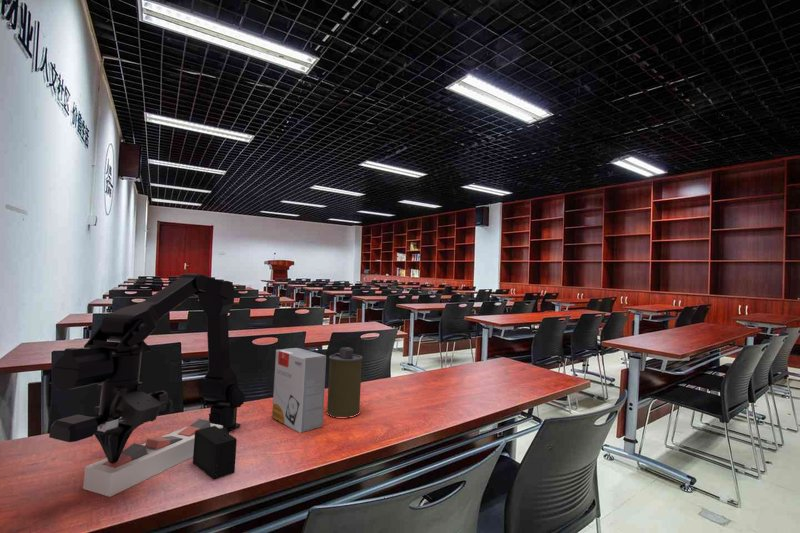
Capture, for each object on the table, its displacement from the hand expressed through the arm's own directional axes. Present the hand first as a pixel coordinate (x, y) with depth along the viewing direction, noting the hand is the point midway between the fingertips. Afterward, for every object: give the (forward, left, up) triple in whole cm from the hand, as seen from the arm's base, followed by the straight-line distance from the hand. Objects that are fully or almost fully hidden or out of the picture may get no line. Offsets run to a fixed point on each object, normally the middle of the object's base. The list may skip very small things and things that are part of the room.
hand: (113, 462), depth 70 cm
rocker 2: (-10, 0, -1) cm, 11 cm away
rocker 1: (-2, 0, -1) cm, 3 cm away
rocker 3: (-18, 0, -1) cm, 19 cm away
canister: (-55, +20, -5) cm, 59 cm away
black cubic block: (-13, +12, -5) cm, 18 cm away
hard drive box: (-42, +12, -5) cm, 44 cm away
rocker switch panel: (-12, 0, -4) cm, 13 cm away
